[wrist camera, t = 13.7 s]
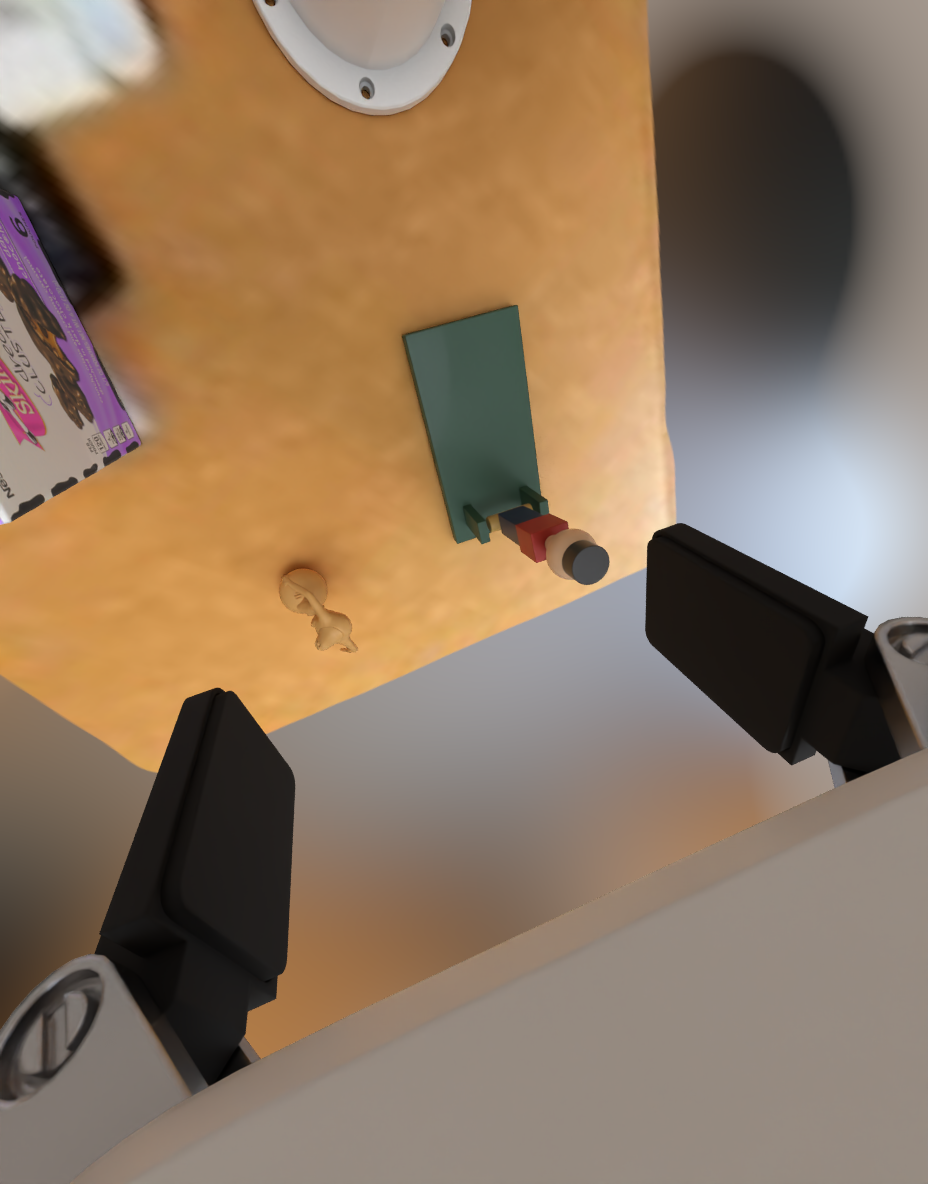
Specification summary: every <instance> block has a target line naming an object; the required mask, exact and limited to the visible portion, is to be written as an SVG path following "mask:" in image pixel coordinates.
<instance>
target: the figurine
mask: <svg viewBox="0 0 928 1184" xmlns="http://www.w3.org/2000/svg"><path fill="white" fill-rule="evenodd" d="M281 578H282V579H283V580H282V581H281V584H280V588H279V594H280V598H281V601H282V602H283V604H284V605H285V606H286V607H287V608H288V609H289V610H291V611H293V612H296V613H300V614H307V615H309V616H313V615H315V616H314V617H313V619H312V622H311V626H312V627H315V629H316V632H317V633H318V637H317V639H316V641H315V646H316V647H317V649H318V650H327V649H328V648H330V647H331V646H332V645H334V644H342V645H345V646H346V647H347V649H345V648H343V649H340V650H341V651H344V652H348V653H351V652H357V651H358V647H357V646H356V645H355V643H354V642H353V641H352V640H351V639H350V637H349V635H350V633H351V631H352V624H351V621H350V619H349V618H348V617H347V616H346V615H344V614H342V613H339V612H334V611H332V610H327V609H325V608H324V605H323V603H324V602H325V600H326V597H327V585H326V582H325V580H324V579H323V577H322V576H321V575H320V574H318V573H317V572H315V571H313V570H310V569H296V570H293V571H291V572H290V573H288V574H287V575H284V577H281Z"/></svg>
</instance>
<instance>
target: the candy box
mask: <svg viewBox="0 0 928 1184" xmlns="http://www.w3.org/2000/svg"><path fill="white" fill-rule="evenodd" d="M140 445H141V442H140V439H139V437H138V435H137V433H136V431H135V429H134V427H133V425H132V423H131V421H130V419H129V417H128V415H127V413H126V411H125V409H124V407H123V405H122V403H121V402H120V400H119V398H118V396H117V393H116V391H115V389H114V387H113V385H112V383H111V381H110V379H109V377H108V375H107V373H106V371H105V369H104V368H103V366H102V364H101V362H100V360H99V358H98V356H97V354H96V352H95V350H94V348H93V346H92V343H91V341H90V339H89V337H88V336H87V334H86V332H85V330H84V328H83V326H82V324H81V322H80V320H79V318H78V316H77V314H76V312H75V310H74V308H73V306H72V304H71V302H70V300H69V298H68V296H67V294H66V292H65V290H64V288H63V286H62V284H61V282H60V280H59V278H58V276H57V274H56V272H55V270H54V268H53V266H52V264H51V262H50V260H49V258H48V256H47V254H46V252H45V250H44V248H43V246H42V244H41V242H40V240H39V238H38V236H37V234H36V232H35V230H34V228H33V226H32V224H31V222H30V220H29V218H28V216H27V214H26V212H25V210H24V208H23V206H22V204H21V202H20V200H19V198H18V197H17V196H15V195H13V194H11V193H9V192H7V191H4V190H2V189H0V524H5V523H10V522H12V521H14V520H15V519H17V518H18V517H20V516H22V515H23V514H25V513H27V512H29V511H31V510H32V509H34V508H36V507H38V506H39V505H41V504H42V503H44V502H46V501H47V500H49V499H51V498H53V497H54V496H56V495H58V494H60V493H61V492H63V491H65V490H67V489H68V488H70V487H72V486H73V485H75V484H77V483H78V482H80V481H82V480H83V479H85V478H87V477H89V476H90V475H92V474H94V473H96V472H98V471H99V470H101V469H102V468H104V467H105V466H107V465H109V464H111V463H112V462H114V461H116V460H118V459H119V458H121V457H122V456H124V455H126V454H127V453H129V452H131V451H133V450H134V449H136V448H137V447H139V446H140Z"/></svg>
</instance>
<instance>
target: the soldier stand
mask: <svg viewBox="0 0 928 1184" xmlns="http://www.w3.org/2000/svg"><path fill="white" fill-rule="evenodd" d="M402 338H403V342H404V346H405V350H406V354H407V357H408V361H409V365H410V369H411V373H412V377H413V381H414V385H415V389H416V393H417V396H418V400H419V404H420V408H421V412H422V416H423V420H424V424H425V428H426V431H427V435H428V439H429V443H430V447H431V451H432V455H433V459H434V463H435V466H436V470H437V474H438V478H439V482H440V486H441V490H442V494H443V498H444V502H445V505H446V509H447V513H448V517H449V521H450V525H451V529H452V533H453V537H454V540H455V541H456V542H457V544H459V543H461V542H464V541H467V540H470V539H473V538H476V537H477V539H478V540H479V541H480V542H481V544H484V543H487V542H490V538H489V533H491V532H490V531H489V529H488V527H487V523H486V517H488V516H491V515H494V514H497V513H500V512H503V511H506V510H509V509H512V508H515V507H518V506H521V505H524V504H527V503H529V504H530V505H531V506H532V508H533V510H534V511H536V512H538V513H540V514H542V515H546V514H549V508H548V500H547V499H545V498H544V497H542V496H541V491H540V483H539V475H538V466H537V458H536V450H535V442H534V434H533V426H532V418H531V409H530V401H529V393H528V385H527V377H526V369H525V361H524V353H523V344H522V336H521V328H520V320H519V312H518V305H513V306H509V307H505V308H501V309H498V310H494V311H490V312H487V313H483V314H479V315H475V316H472V317H468V318H464V319H461V320H457V321H453V322H449V323H446V324H442V325H438V326H435V327H431V328H427V329H423V330H420V331H416V332H412V333H408V334H405V335H402Z"/></svg>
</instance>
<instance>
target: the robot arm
mask: <svg viewBox="0 0 928 1184" xmlns="http://www.w3.org/2000/svg"><path fill="white" fill-rule="evenodd" d="M274 2H275V6H269V5H267V4H266V3H265V0H253V3H254V5H255V7H256V9H257V11H258V13H259V15H260V16H261V18H262V20H263V22H264V24H265V26H266V28H267V30H268V31H269V33H270V35H271V37H272V38H273V40H274V41H275V42H276V44H277V45H278V47H279V48H280V50H281V51H282V52H283V54H284V55H285V57H286V58H287V60H288V61H289V62H290V63H291V65H292V66H293V67H294V68H295V69H296V70H297V71H298V72H299V73H300V74H301V75H302V76H303V77H304V78H305V79H306V81H307V82H308V83H309V84H310V85H312V86H313V87H314V88H316V89H317V90H318V91H319V92H321V93H322V94H323V95H325V96H326V97H327V98H329V99H330V100H332V101H334V102H336V103H338V104H340V105H342V106H344V107H346V108H348V109H350V110H352V111H356V112H360V113H364V114H368V115H392V114H395V113H398V112H402V111H405V110H408V109H410V108H412V107H413V106H415V105H416V104H418V103H419V102H421V101H422V100H424V99H426V98H427V97H428V95H429V94H430V93H431V92H432V91H433V90H434V89H435V88H436V87H437V86H438V85H439V84H440V82H441V81H442V79H443V77H444V76H445V74H446V72H447V71H448V69H449V67H450V66H451V64H452V62H453V60H454V58H455V56H456V54H457V52H458V50H459V48H460V45H461V42H462V39H463V36H464V32H465V29H466V26H467V22H468V19H469V15H470V9H471V2H472V0H274ZM441 38H445V39H446V40H447V42H448V47H447V46H446V45H444V44H443V42H442V40H441ZM362 90H367V91H368V93H369V95H370V98H369V99H366V98H364V97H363V96H362V93H361V92H362ZM867 619H868V616H866V615H864V614H862V613H860V612H858V611H856V610H854V609H852V608H850V607H848V606H846V605H844V604H842V603H840V602H838V601H836V600H834V599H832V598H830V597H828V596H826V595H824V594H822V593H820V592H818V591H816V590H814V589H813V588H811V587H809V586H807V585H804V584H803V583H801V582H799V581H797V580H795V579H793V578H791V577H789V576H787V575H785V574H783V573H781V572H779V571H777V570H775V569H773V568H771V567H769V566H767V565H765V564H763V563H761V562H759V561H757V560H755V559H753V558H751V557H749V556H747V555H745V554H743V553H741V552H739V551H737V550H735V549H734V548H732V547H730V546H727V545H726V544H724V543H721V542H720V541H718V540H716V539H714V538H712V537H710V536H708V535H706V534H704V533H702V532H700V531H698V530H696V529H694V528H692V527H690V526H688V525H686V524H683V523H678V524H675V525H672V526H670V527H667V528H664V529H661V530H658V531H656V532H655V533H654V535H653V537H652V540H650V541H649V543H648V546H647V583H646V624H645V631H646V636H647V638H648V640H649V642H650V643H651V644H652V646H654V647H655V648H656V649H657V650H658V651H659V652H660V653H661V654H662V655H663V656H664V657H665V658H667V659H668V660H669V661H670V662H671V663H672V664H673V665H674V666H675V667H676V668H678V669H679V670H680V671H681V672H682V673H683V674H684V675H685V676H686V677H687V678H688V679H690V680H691V681H692V682H693V683H694V684H695V685H696V686H697V687H698V688H699V689H700V690H701V691H703V692H704V693H705V694H706V695H707V696H708V697H709V698H710V699H711V700H712V701H713V702H714V703H716V704H717V705H718V706H719V707H720V708H721V709H722V710H723V711H724V712H725V713H726V714H728V715H729V716H730V717H731V718H732V719H733V720H734V721H735V722H736V723H737V724H739V725H740V726H741V727H742V728H743V729H744V730H745V731H746V732H747V733H748V734H749V735H750V736H752V737H753V738H754V739H755V740H756V741H757V742H758V743H759V744H760V745H761V746H762V747H764V748H765V749H766V750H768V751H770V752H772V753H778V754H779V755H781V756H782V757H783V758H784V759H785V760H786V761H787V762H788V763H789V764H790V765H794V764H796V763H798V762H800V761H802V760H805V759H807V758H809V757H811V756H813V755H815V753H816V750H817V751H818V752H819V753H820V754H822V755H823V756H824V757H825V758H827V759H828V763H829V767H830V771H831V775H832V779H833V783H834V787H835V788H834V789H832V790H830V791H828V792H826V793H823V794H821V795H819V796H817V797H815V798H813V799H810V800H808V801H806V802H804V803H802V804H800V805H797V806H795V807H793V808H791V809H789V810H787V811H784V812H782V813H780V814H778V815H776V816H774V817H771V818H769V819H767V820H765V821H763V822H761V823H758V824H756V825H754V826H752V827H750V828H747V829H745V830H743V831H741V832H739V833H737V834H734V835H732V836H730V837H728V838H726V839H724V840H721V841H719V842H717V843H715V844H713V845H711V846H709V847H706V848H704V849H702V850H700V851H698V852H695V853H694V854H691V855H689V856H687V857H685V858H683V859H680V860H678V861H676V862H674V863H672V864H670V865H668V866H666V867H664V868H661V869H659V870H657V871H655V872H653V873H651V874H648V875H646V876H644V877H642V878H640V879H638V880H635V881H634V882H631V883H629V884H627V885H625V886H623V887H620V888H618V889H616V890H614V891H612V892H610V893H608V894H606V895H603V896H601V897H599V898H597V899H595V900H593V901H590V902H588V903H586V904H584V905H582V906H580V907H578V908H576V909H573V910H571V911H569V912H567V913H565V914H563V915H561V916H558V917H557V918H554V919H552V920H550V921H548V922H546V923H543V924H541V925H539V926H537V927H535V928H533V929H531V930H529V931H526V932H524V933H522V934H520V935H518V936H516V937H514V938H512V939H509V940H508V941H505V942H503V943H501V944H499V945H497V946H495V947H493V948H491V949H488V950H486V951H484V952H482V953H480V954H478V955H476V956H473V957H471V958H469V959H467V960H465V961H463V962H461V963H459V964H457V965H454V966H452V967H450V968H448V969H446V970H444V971H442V972H440V973H438V974H435V975H433V976H431V977H429V978H427V979H425V980H423V981H421V982H419V983H417V984H414V985H412V986H410V987H408V988H406V989H404V990H402V991H400V992H398V993H396V994H393V995H391V996H389V997H387V998H385V999H383V1000H381V1001H378V1002H376V1003H374V1004H372V1005H370V1006H368V1007H366V1008H364V1009H361V1010H359V1011H357V1012H355V1013H353V1014H351V1015H349V1016H347V1017H345V1018H343V1019H341V1020H339V1021H337V1022H335V1023H333V1024H331V1025H329V1026H327V1027H325V1028H323V1029H321V1030H319V1031H317V1032H315V1033H313V1034H311V1035H309V1036H307V1037H305V1038H303V1039H301V1040H299V1041H297V1042H295V1043H293V1044H291V1045H289V1046H286V1047H285V1048H283V1049H280V1050H278V1051H276V1052H274V1053H272V1054H270V1055H269V1056H266V1057H264V1058H262V1059H260V1057H259V1056H258V1055H257V1053H256V1052H255V1050H254V1049H253V1048H252V1047H251V1045H250V1044H249V1042H248V1041H247V1040H246V1039H245V1037H244V1035H245V1033H246V1023H247V1013H248V1011H250V1010H252V1009H255V1008H257V1007H259V1006H261V1005H263V1004H266V1003H268V1002H270V1001H272V1000H274V999H276V993H277V976H278V975H280V974H282V973H283V972H284V970H285V967H286V963H287V948H288V928H289V907H290V905H289V904H290V886H291V864H292V843H293V821H294V800H295V779H294V775H293V772H292V770H291V768H290V767H289V765H288V764H287V763H286V761H285V760H284V759H283V757H282V756H281V755H280V753H279V752H278V751H277V749H276V748H275V746H274V745H273V744H272V742H271V741H270V740H269V738H268V737H267V736H266V734H265V733H264V732H263V730H262V729H261V727H260V726H259V725H258V723H257V722H256V721H255V719H254V718H253V717H252V715H251V714H250V713H249V711H248V710H247V709H246V707H245V706H244V705H243V703H242V702H241V700H240V699H239V698H238V696H237V695H236V694H235V693H234V692H232V691H227V692H225V691H224V690H222V689H221V688H214V689H211V690H208V691H206V692H203V693H200V694H197V695H194V696H192V697H189V698H187V699H186V700H185V701H184V703H183V705H182V708H181V711H180V713H179V716H178V719H177V722H176V724H175V727H174V730H173V733H172V735H171V738H170V741H169V744H168V746H167V749H166V752H165V755H164V757H163V760H162V763H161V766H160V768H159V771H158V774H157V777H156V779H155V782H154V785H153V788H152V790H151V793H150V796H149V799H148V801H147V804H146V807H145V810H144V813H143V815H142V818H141V821H140V823H139V827H138V829H137V832H136V834H135V837H134V841H133V843H132V845H131V848H130V851H129V854H128V856H127V859H126V862H125V865H124V868H123V870H122V873H121V876H120V879H119V881H118V884H117V887H116V889H115V892H114V895H113V898H112V901H111V903H110V906H109V909H108V911H107V914H106V917H105V920H104V922H103V925H102V928H101V931H100V933H99V934H100V935H101V937H100V940H99V943H98V945H97V948H96V951H95V954H89V955H86V956H83V957H80V958H77V959H74V960H72V961H70V962H69V963H67V964H65V965H64V966H62V967H60V968H59V969H58V970H56V971H54V972H53V973H52V974H51V975H49V976H48V977H47V978H46V979H45V980H43V981H42V982H41V983H40V984H39V985H38V986H36V987H35V988H34V989H33V990H32V991H31V992H30V994H29V995H28V996H27V997H26V998H25V999H24V1000H23V1001H22V1002H21V1004H20V1005H19V1006H18V1007H17V1008H16V1009H15V1010H14V1012H13V1013H12V1014H11V1016H10V1017H9V1019H8V1020H7V1022H6V1023H5V1024H4V1026H3V1027H2V1029H1V1030H0V1184H928V618H922V617H901V618H896V619H891V620H888V621H886V622H884V623H882V624H880V625H879V626H878V628H877V629H876V631H875V633H872V632H870V631H868V630H866V629H864V627H865V624H866V621H867Z"/></svg>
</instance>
